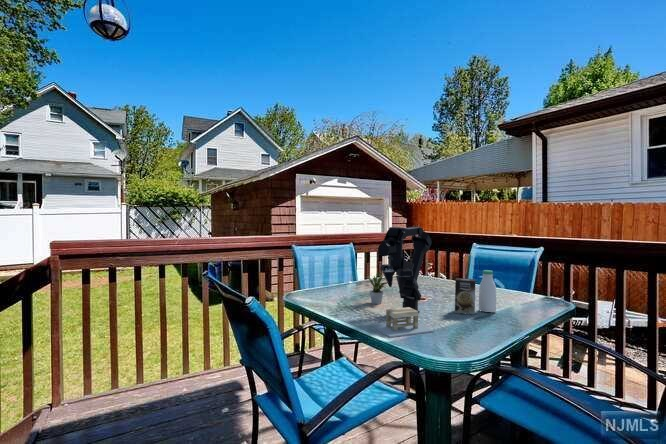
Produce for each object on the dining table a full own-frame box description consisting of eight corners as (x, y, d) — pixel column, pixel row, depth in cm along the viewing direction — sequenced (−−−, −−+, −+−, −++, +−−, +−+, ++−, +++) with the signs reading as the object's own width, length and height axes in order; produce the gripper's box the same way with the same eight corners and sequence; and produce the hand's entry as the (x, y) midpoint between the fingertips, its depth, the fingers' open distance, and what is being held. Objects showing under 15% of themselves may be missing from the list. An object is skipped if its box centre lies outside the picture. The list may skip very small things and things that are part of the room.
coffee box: (454, 313, 163) (454, 279, 163) (455, 309, 169) (455, 277, 169) (475, 315, 159) (475, 281, 159) (475, 311, 165) (475, 278, 165)
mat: (412, 321, 150) (412, 319, 150) (433, 331, 136) (433, 330, 136) (371, 326, 142) (371, 324, 142) (389, 337, 128) (389, 336, 128)
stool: (386, 326, 140) (386, 309, 140) (408, 323, 144) (409, 307, 144) (394, 331, 134) (394, 313, 134) (418, 328, 138) (418, 311, 138)
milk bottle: (498, 314, 162) (498, 272, 162) (480, 313, 164) (481, 271, 163) (493, 309, 170) (494, 269, 169) (477, 308, 171) (477, 269, 171)
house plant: (365, 307, 172) (365, 275, 172) (358, 300, 186) (358, 271, 186) (392, 306, 175) (392, 274, 175) (382, 299, 189) (383, 270, 189)
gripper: (423, 256, 149) (422, 291, 149) (400, 252, 166) (399, 284, 167) (401, 257, 145) (400, 293, 145) (380, 252, 163) (379, 285, 163)
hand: (395, 288), depth 155 cm, fingers open, 9 cm apart
